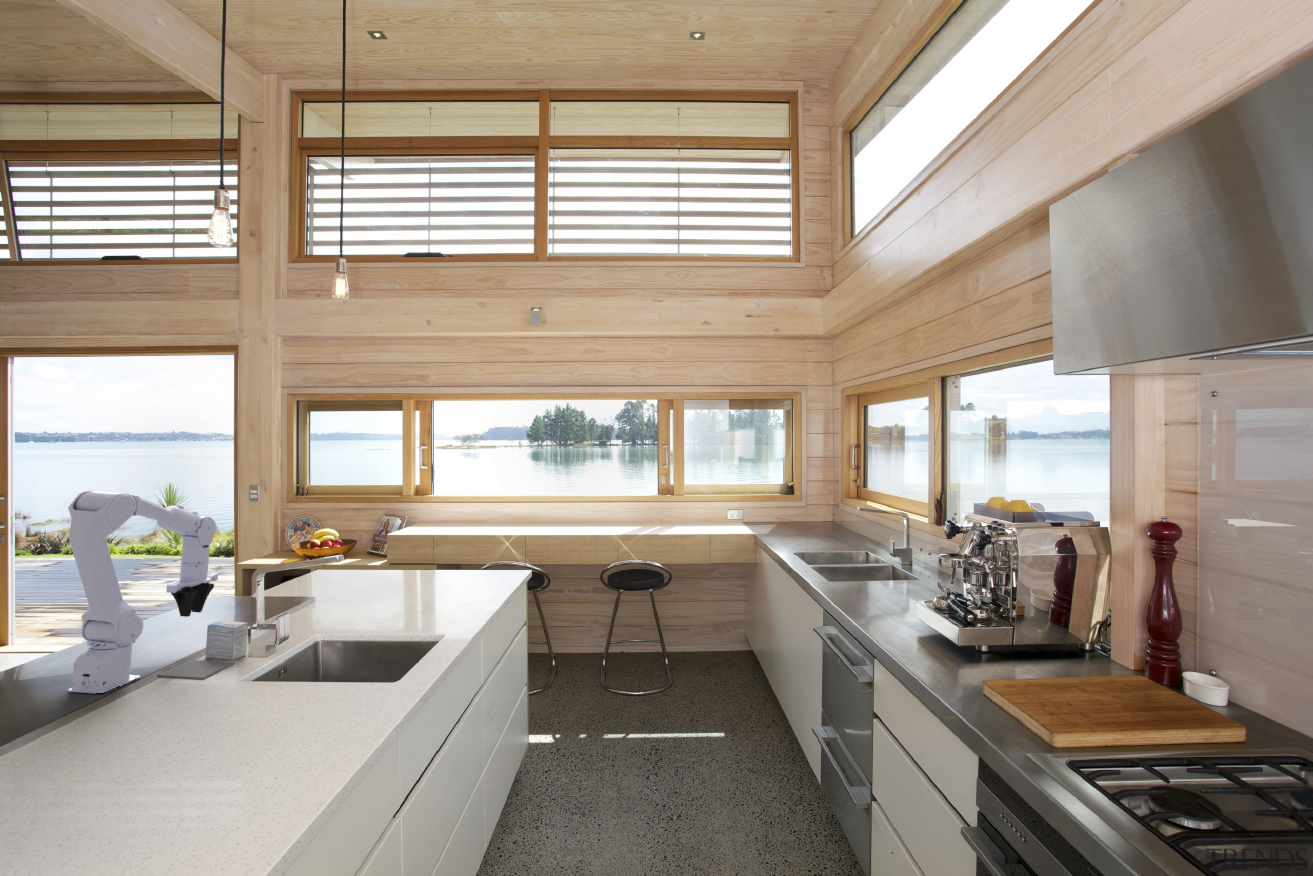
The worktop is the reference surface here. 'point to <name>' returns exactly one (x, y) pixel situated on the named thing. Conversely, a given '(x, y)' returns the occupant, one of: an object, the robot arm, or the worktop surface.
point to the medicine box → (226, 640)
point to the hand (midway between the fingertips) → (191, 614)
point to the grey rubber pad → (196, 669)
